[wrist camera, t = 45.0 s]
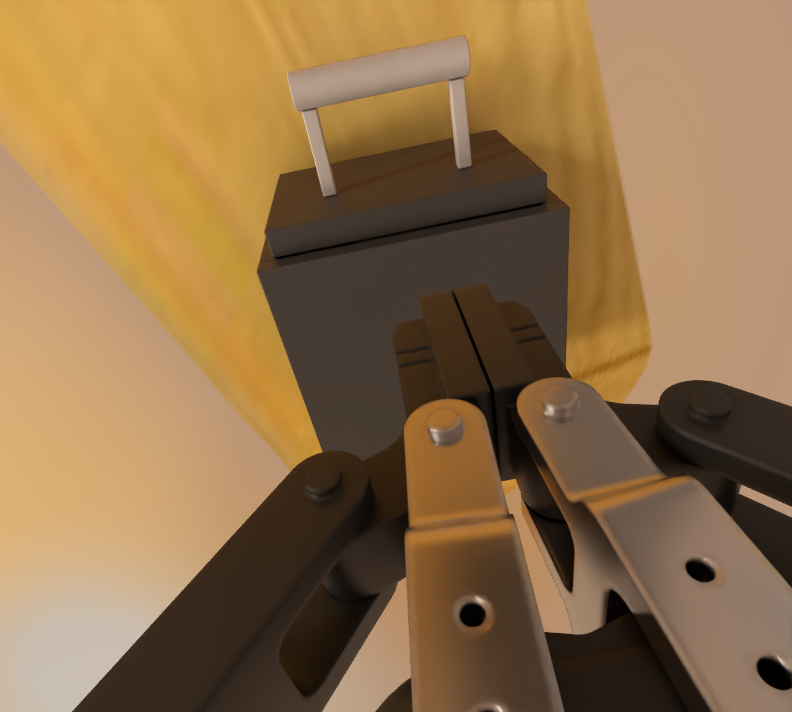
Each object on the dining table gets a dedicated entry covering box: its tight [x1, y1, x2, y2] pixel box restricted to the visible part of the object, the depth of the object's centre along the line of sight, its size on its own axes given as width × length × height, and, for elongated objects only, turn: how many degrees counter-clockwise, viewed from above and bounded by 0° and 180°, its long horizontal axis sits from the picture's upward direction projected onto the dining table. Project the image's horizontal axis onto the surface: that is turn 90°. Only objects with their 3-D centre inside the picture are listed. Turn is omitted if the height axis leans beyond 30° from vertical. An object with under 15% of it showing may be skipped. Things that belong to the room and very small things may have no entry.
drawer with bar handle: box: [265, 36, 547, 258], centre depth 26 cm, size 18×11×8 cm, turn 10°
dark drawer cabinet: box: [257, 188, 570, 461], centre depth 29 cm, size 15×13×10 cm
